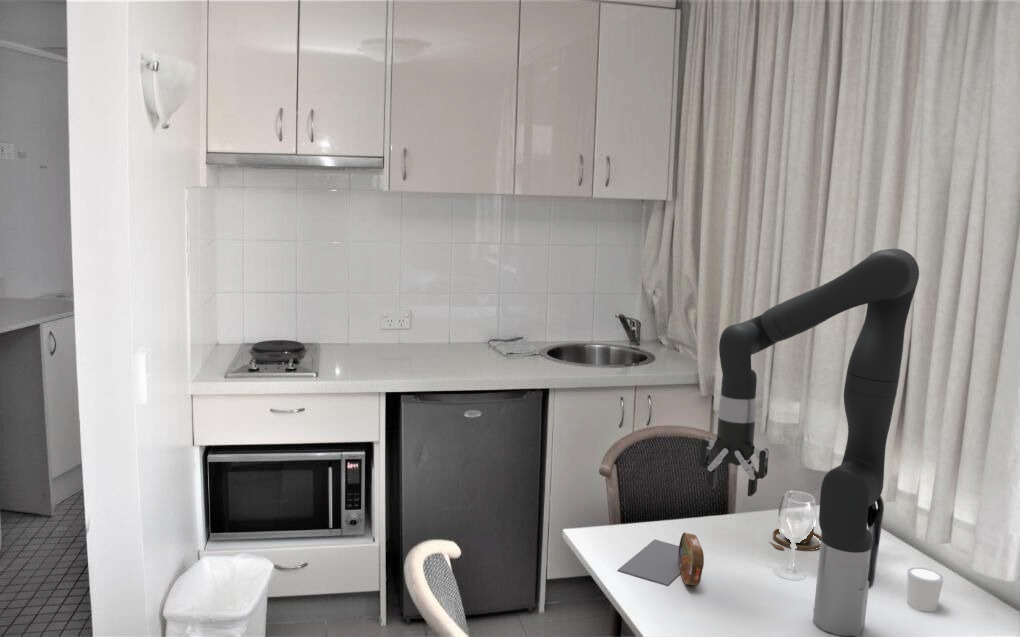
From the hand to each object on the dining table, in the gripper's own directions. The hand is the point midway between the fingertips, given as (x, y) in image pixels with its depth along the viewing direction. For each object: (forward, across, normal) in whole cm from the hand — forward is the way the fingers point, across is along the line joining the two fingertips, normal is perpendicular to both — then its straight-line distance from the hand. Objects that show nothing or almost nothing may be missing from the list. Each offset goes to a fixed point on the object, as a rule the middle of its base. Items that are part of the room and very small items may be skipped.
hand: (731, 491), depth 177 cm
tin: (+22, +8, 0) cm, 23 cm away
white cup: (+22, -37, -18) cm, 47 cm away
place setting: (+23, -10, -34) cm, 42 cm away
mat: (+22, +16, -4) cm, 27 cm away
